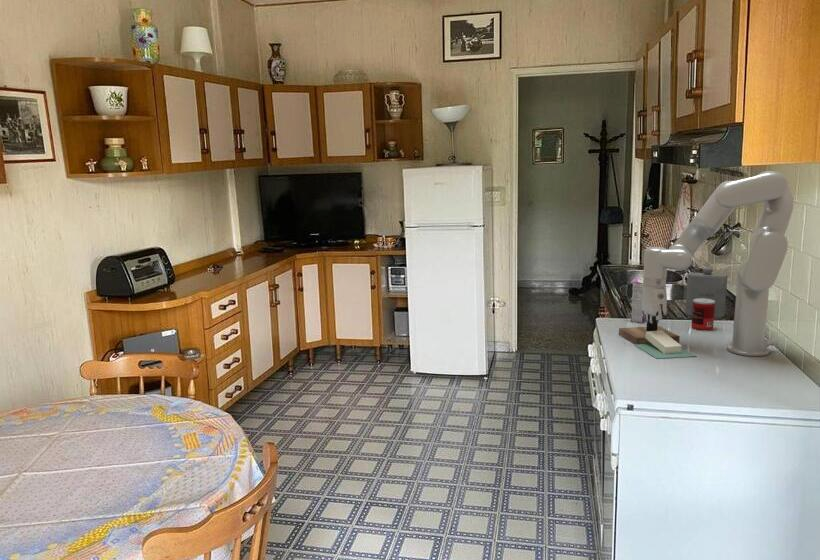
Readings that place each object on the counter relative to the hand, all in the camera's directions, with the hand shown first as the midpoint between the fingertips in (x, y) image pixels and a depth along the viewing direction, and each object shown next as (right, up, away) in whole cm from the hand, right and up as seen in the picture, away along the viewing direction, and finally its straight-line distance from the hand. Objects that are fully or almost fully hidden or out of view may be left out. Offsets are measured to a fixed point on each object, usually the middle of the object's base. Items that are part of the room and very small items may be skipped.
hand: (651, 333), depth 224 cm
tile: (+1, -4, -6) cm, 7 cm away
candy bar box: (+8, +3, +34) cm, 35 cm away
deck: (+1, -2, +7) cm, 7 cm away
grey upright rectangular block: (+37, +4, +39) cm, 53 cm away
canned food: (+27, 0, +20) cm, 33 cm away
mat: (+1, -5, -8) cm, 10 cm away
